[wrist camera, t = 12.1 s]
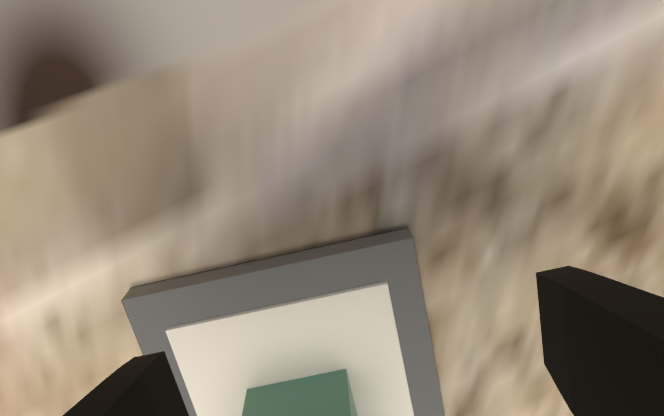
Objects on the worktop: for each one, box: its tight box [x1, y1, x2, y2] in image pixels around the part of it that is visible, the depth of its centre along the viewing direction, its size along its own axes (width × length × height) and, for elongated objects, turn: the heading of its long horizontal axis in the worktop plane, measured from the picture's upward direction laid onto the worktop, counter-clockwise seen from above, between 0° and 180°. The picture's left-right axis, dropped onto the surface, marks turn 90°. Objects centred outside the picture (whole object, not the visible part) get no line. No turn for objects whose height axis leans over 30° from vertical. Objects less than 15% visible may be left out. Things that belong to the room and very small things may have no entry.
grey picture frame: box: [121, 228, 444, 416], centre depth 20 cm, size 11×13×1 cm
